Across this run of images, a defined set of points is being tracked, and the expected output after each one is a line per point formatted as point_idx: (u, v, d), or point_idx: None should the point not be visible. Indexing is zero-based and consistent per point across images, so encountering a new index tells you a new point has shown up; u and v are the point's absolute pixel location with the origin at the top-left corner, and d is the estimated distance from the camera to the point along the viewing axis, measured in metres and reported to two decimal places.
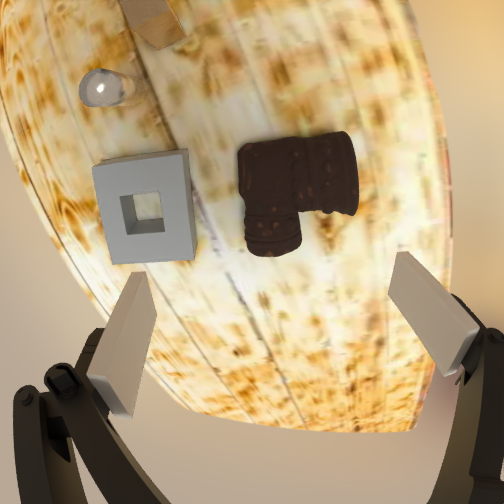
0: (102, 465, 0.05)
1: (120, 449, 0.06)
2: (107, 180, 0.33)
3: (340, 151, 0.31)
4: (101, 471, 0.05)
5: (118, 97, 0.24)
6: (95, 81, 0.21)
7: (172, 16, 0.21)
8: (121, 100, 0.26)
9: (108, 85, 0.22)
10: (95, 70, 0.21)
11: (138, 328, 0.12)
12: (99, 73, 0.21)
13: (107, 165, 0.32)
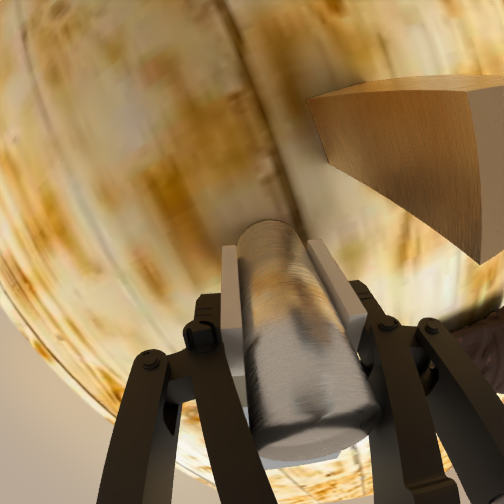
0: (218, 424, 0.07)
1: (243, 413, 0.07)
2: None
3: None
4: (215, 429, 0.06)
5: None
6: (321, 427, 0.07)
7: None
8: None
9: (360, 429, 0.07)
10: (328, 407, 0.06)
11: None
12: (342, 412, 0.07)
13: None
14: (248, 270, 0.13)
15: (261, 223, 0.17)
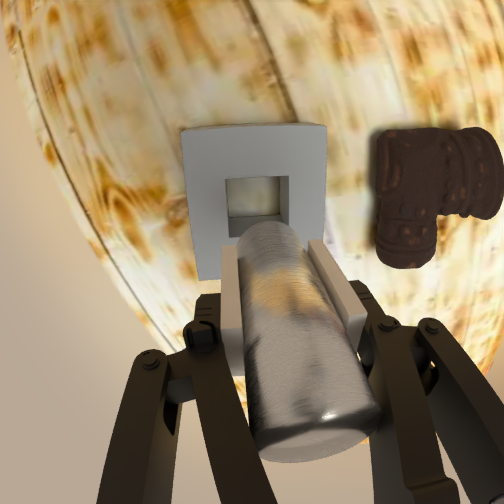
0: (218, 424, 0.07)
1: (243, 413, 0.07)
2: (206, 153, 0.23)
3: (489, 150, 0.21)
4: (215, 429, 0.06)
5: None
6: (321, 428, 0.07)
7: None
8: None
9: (360, 430, 0.07)
10: (329, 409, 0.06)
11: None
12: (343, 414, 0.07)
13: (208, 130, 0.22)
14: (248, 271, 0.13)
15: (261, 224, 0.17)
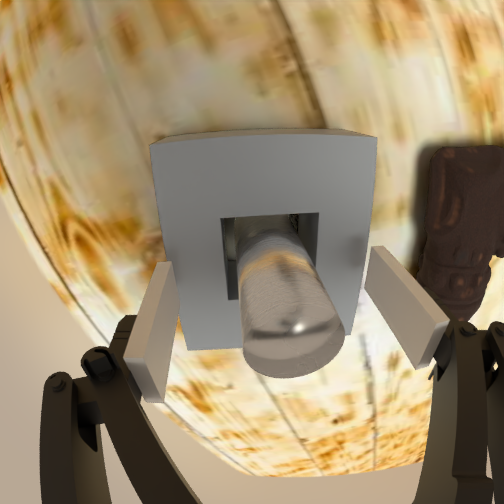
0: (133, 450, 0.06)
1: (153, 436, 0.06)
2: (191, 178, 0.14)
3: None
4: (131, 456, 0.06)
5: None
6: (296, 333, 0.10)
7: None
8: None
9: (329, 343, 0.11)
10: (298, 309, 0.10)
11: (167, 315, 0.12)
12: (310, 318, 0.10)
13: (194, 141, 0.14)
14: (243, 234, 0.17)
15: None
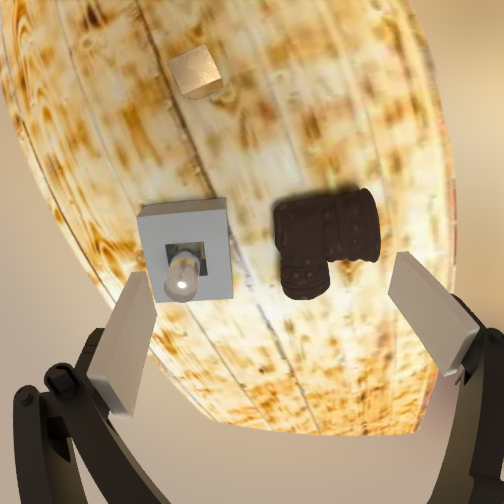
0: (102, 465, 0.05)
1: (120, 449, 0.06)
2: (152, 229, 0.38)
3: (365, 213, 0.36)
4: (101, 471, 0.05)
5: None
6: (178, 284, 0.34)
7: (220, 80, 0.26)
8: None
9: (191, 289, 0.34)
10: (177, 276, 0.33)
11: (138, 328, 0.12)
12: (182, 279, 0.33)
13: (152, 216, 0.37)
14: (175, 250, 0.40)
15: None
